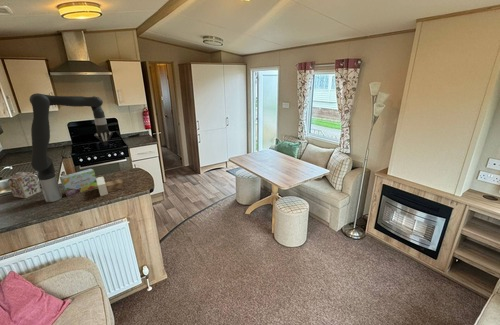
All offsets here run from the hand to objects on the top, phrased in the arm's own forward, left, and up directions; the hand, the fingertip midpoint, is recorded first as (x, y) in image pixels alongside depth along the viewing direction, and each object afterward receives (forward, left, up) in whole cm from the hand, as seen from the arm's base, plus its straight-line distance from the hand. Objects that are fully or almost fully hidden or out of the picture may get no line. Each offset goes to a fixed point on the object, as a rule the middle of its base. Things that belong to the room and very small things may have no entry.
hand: (106, 145), depth 185 cm
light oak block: (-1, -11, -33) cm, 35 cm away
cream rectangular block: (-10, -11, -33) cm, 36 cm away
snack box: (-23, 0, -33) cm, 40 cm away
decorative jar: (-57, +17, -33) cm, 68 cm away
